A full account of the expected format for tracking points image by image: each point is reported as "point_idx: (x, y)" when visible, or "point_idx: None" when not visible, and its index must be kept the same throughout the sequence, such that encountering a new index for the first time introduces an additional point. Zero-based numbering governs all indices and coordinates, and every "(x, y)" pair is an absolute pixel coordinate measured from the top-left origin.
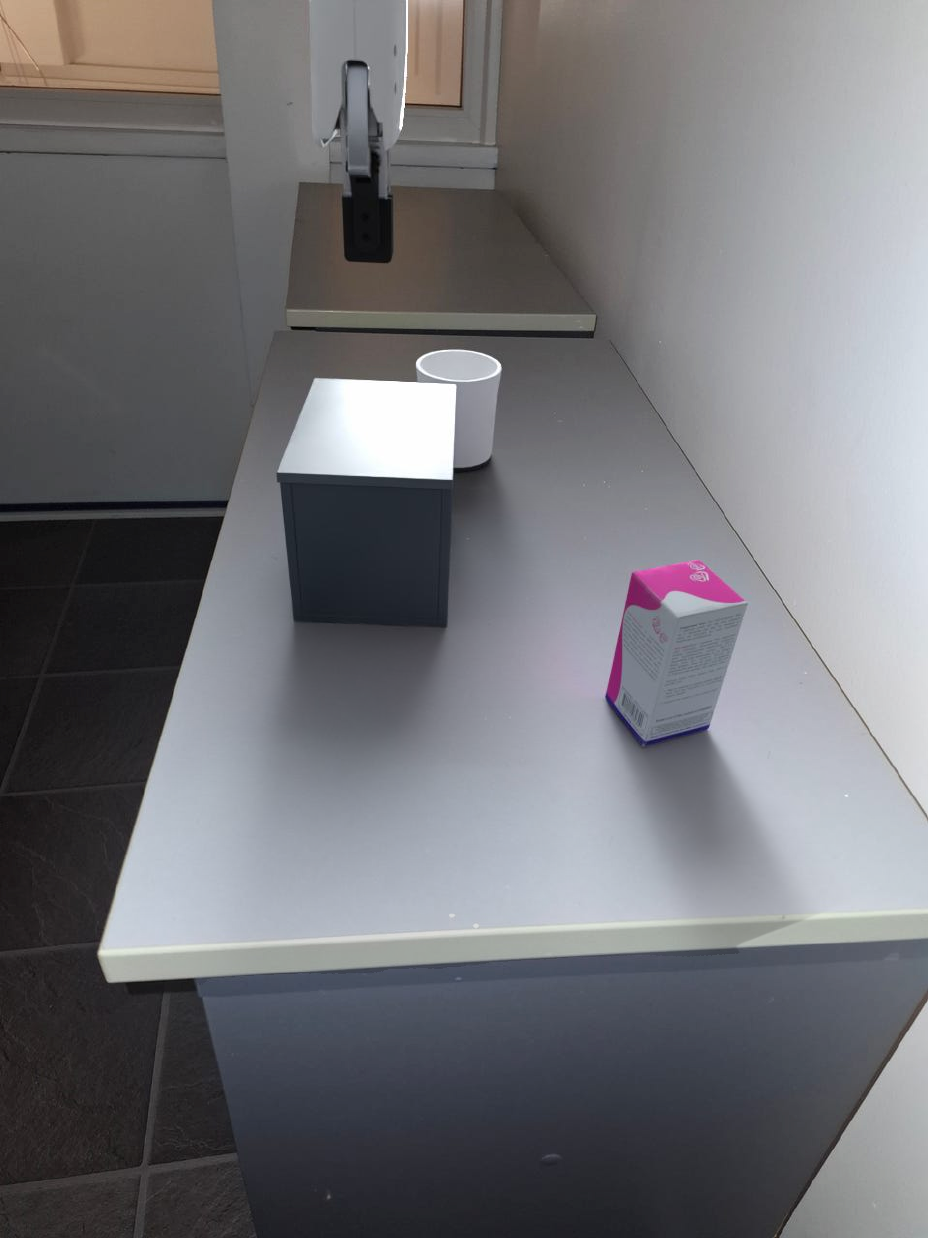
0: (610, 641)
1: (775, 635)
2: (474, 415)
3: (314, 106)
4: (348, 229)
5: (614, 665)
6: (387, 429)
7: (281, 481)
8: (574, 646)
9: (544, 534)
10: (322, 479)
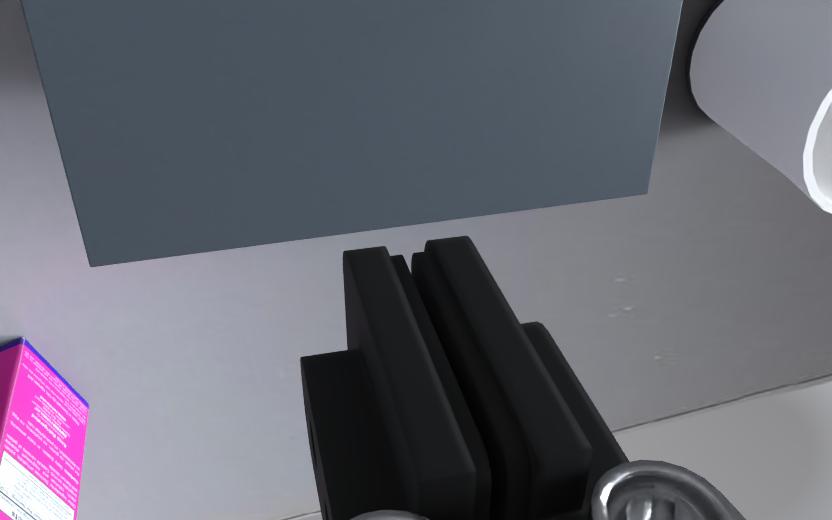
0: (167, 336)
1: (231, 507)
2: (756, 137)
3: None
4: (372, 364)
5: (4, 384)
6: (352, 70)
7: None
8: (141, 291)
9: (460, 230)
10: None
